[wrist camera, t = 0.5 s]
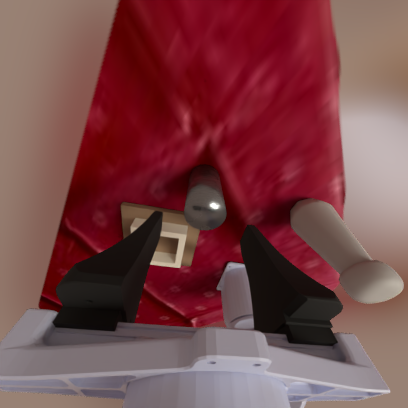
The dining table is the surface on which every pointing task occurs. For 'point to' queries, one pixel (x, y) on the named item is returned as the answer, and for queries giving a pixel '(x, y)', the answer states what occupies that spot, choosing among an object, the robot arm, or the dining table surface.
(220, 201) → the peg
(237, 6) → the dining table surface
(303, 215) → the salt shaker
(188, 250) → the socket board
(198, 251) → the dining table surface
